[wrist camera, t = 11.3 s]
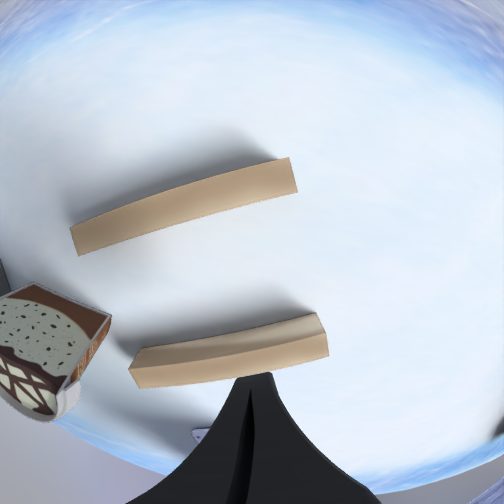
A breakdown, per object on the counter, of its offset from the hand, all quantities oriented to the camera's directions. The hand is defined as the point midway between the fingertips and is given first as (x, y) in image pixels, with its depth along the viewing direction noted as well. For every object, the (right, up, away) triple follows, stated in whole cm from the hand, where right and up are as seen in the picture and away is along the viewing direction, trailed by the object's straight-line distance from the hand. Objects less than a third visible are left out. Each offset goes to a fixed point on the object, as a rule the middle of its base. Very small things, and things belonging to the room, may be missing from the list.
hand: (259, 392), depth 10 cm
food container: (-17, -1, +11) cm, 20 cm away
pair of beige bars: (-4, +3, +9) cm, 11 cm away
